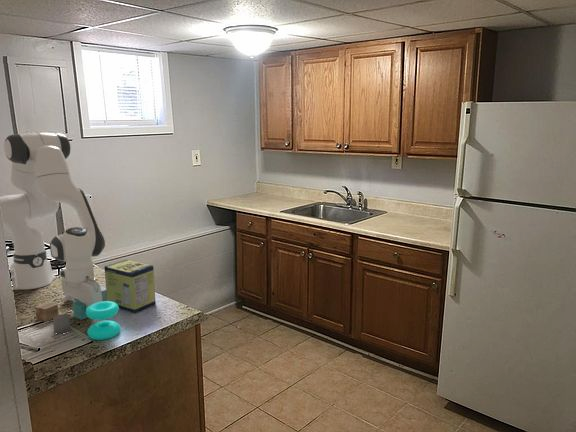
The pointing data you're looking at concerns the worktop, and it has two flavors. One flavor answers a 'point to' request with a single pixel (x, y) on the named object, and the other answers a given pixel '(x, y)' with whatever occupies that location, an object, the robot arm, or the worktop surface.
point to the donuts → (103, 327)
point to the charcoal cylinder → (62, 323)
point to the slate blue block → (103, 293)
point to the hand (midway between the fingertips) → (83, 310)
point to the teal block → (79, 310)
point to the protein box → (130, 285)
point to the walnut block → (46, 311)
